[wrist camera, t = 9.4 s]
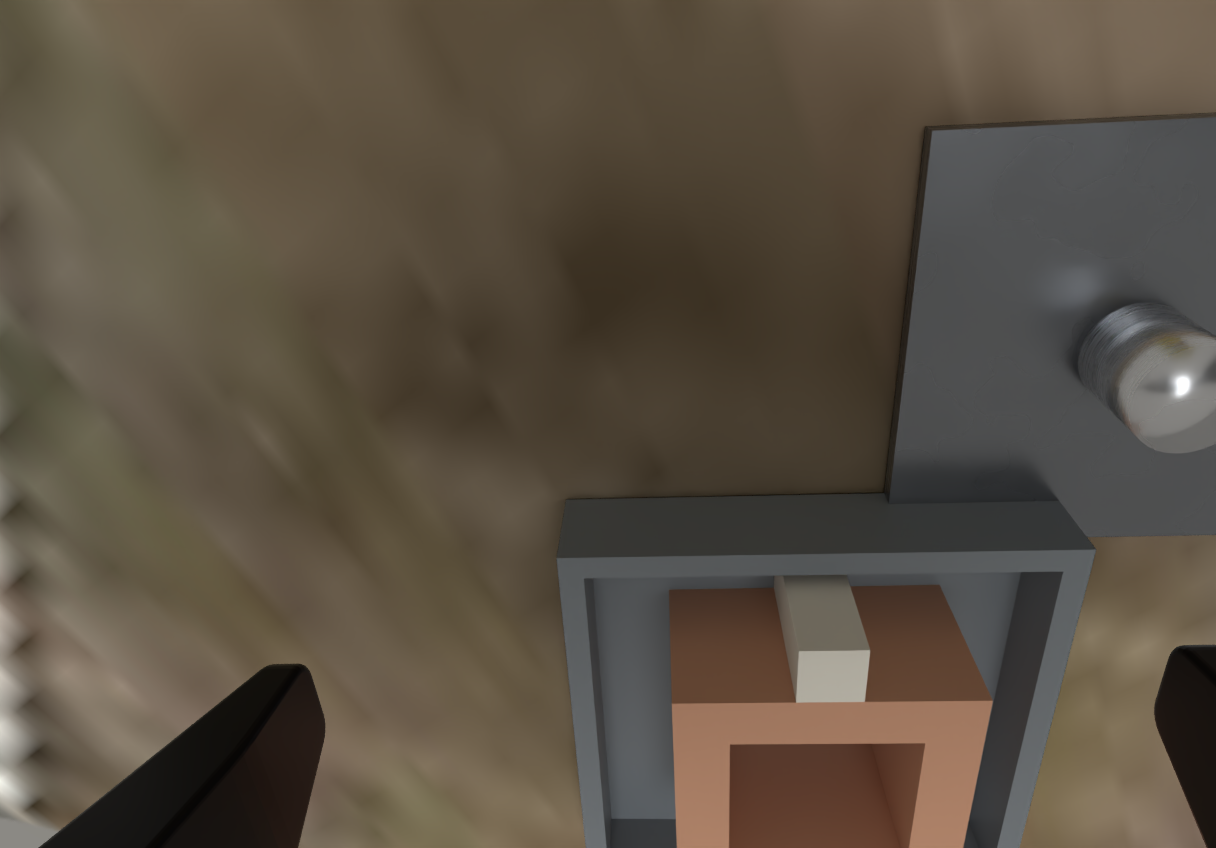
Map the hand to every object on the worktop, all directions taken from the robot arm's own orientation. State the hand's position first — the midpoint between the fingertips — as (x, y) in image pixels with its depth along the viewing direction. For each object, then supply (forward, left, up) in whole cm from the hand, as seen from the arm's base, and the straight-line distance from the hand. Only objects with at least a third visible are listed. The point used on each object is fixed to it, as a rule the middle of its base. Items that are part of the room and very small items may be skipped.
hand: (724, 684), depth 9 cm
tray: (-3, +12, -12) cm, 17 cm away
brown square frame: (-3, +11, -11) cm, 16 cm away
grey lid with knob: (-10, +2, -12) cm, 16 cm away
